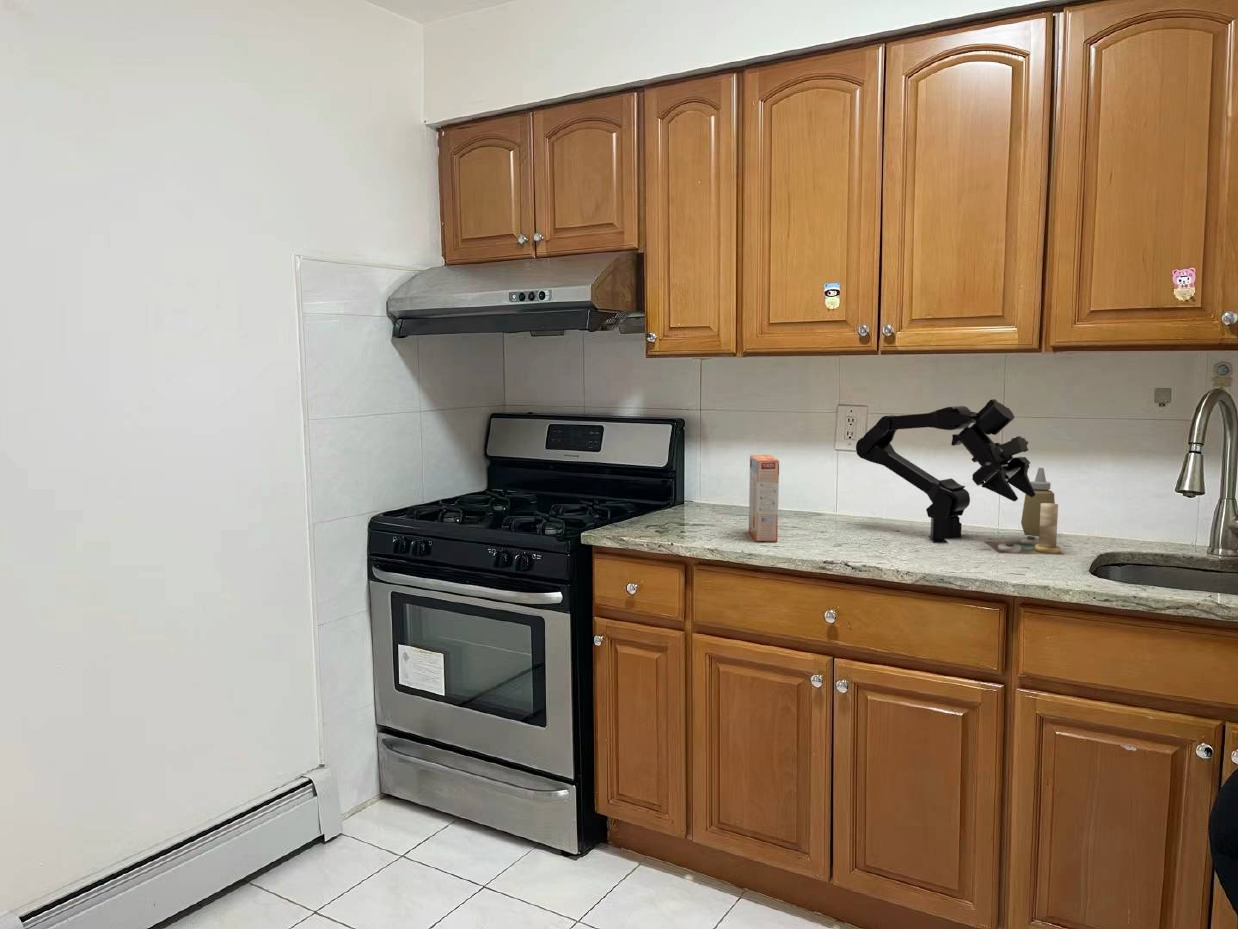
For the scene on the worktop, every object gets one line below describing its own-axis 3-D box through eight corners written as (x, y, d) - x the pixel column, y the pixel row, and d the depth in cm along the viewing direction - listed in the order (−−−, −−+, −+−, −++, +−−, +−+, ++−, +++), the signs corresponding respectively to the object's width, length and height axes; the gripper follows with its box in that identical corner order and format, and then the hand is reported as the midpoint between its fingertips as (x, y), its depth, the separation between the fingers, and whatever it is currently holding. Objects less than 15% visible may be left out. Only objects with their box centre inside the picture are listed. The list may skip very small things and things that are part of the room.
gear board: (998, 558, 203) (999, 545, 203) (983, 546, 217) (984, 534, 216) (1063, 559, 201) (1064, 546, 201) (1044, 547, 214) (1045, 535, 214)
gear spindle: (1038, 553, 202) (1041, 505, 201) (1031, 548, 207) (1033, 502, 206) (1063, 554, 201) (1065, 506, 200) (1055, 549, 207) (1057, 502, 205)
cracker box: (779, 542, 223) (780, 459, 220) (755, 542, 223) (755, 459, 221) (770, 532, 237) (771, 453, 234) (748, 532, 237) (748, 454, 234)
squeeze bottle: (1035, 542, 221) (1039, 470, 219) (1013, 536, 229) (1016, 466, 226) (1062, 540, 223) (1066, 469, 221) (1039, 534, 231) (1042, 465, 229)
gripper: (987, 427, 203) (1033, 480, 196) (1023, 423, 215) (1068, 472, 208) (953, 458, 210) (997, 510, 203) (990, 453, 222) (1032, 502, 215)
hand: (1025, 498), depth 207 cm, fingers open, 9 cm apart
